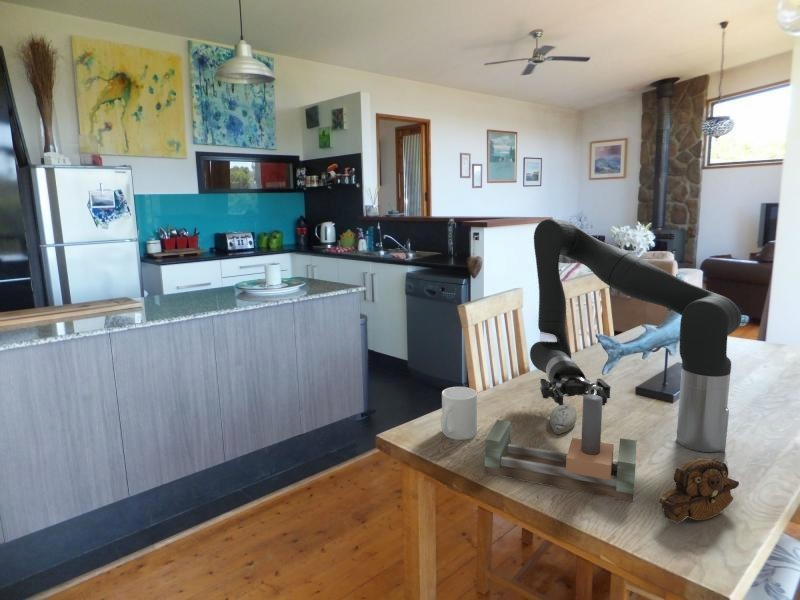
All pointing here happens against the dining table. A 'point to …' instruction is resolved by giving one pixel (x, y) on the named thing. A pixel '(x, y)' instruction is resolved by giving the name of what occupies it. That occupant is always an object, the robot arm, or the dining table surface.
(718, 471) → the wooden carving
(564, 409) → the decorative stone
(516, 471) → the rail bed
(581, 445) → the carriage
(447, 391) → the mug
